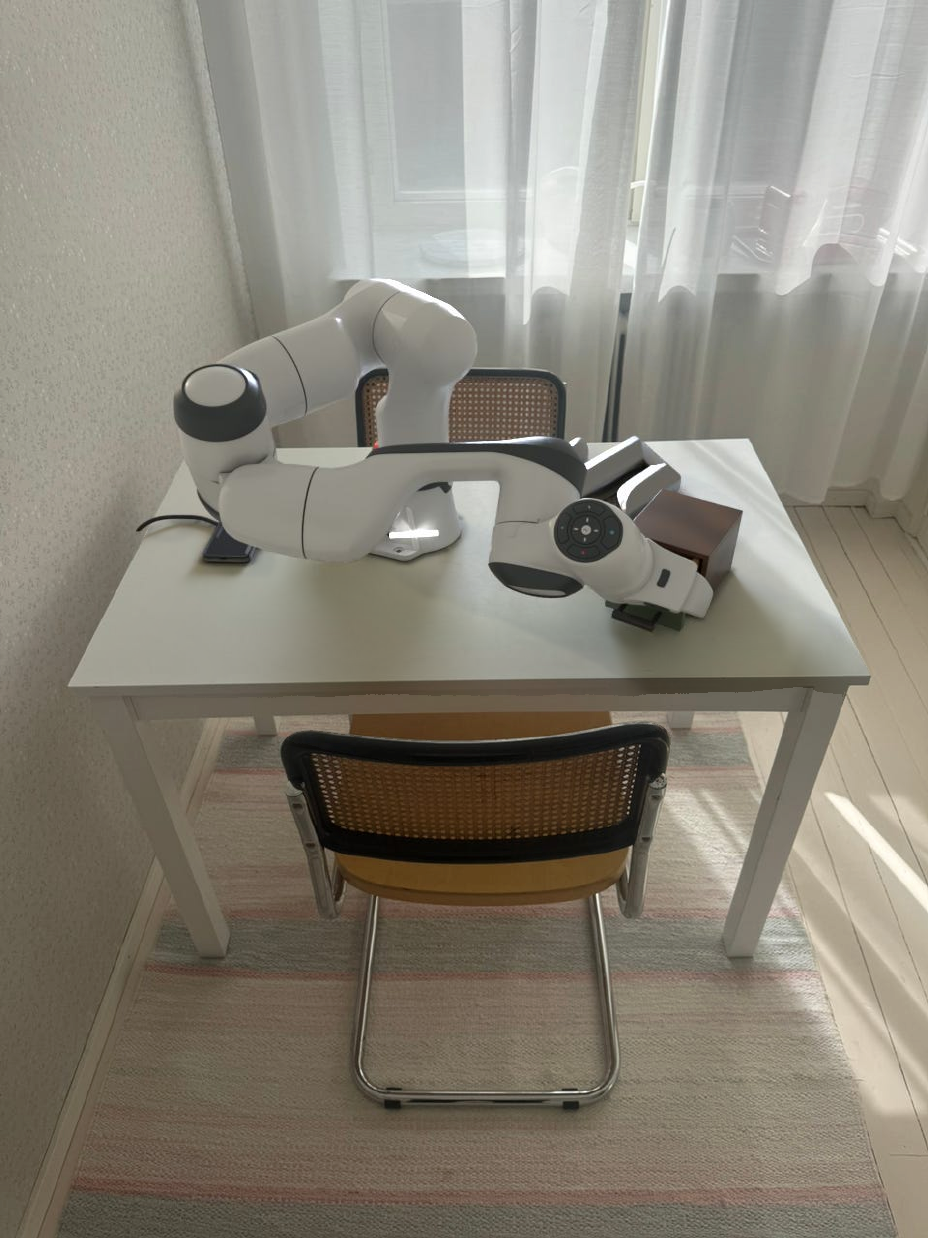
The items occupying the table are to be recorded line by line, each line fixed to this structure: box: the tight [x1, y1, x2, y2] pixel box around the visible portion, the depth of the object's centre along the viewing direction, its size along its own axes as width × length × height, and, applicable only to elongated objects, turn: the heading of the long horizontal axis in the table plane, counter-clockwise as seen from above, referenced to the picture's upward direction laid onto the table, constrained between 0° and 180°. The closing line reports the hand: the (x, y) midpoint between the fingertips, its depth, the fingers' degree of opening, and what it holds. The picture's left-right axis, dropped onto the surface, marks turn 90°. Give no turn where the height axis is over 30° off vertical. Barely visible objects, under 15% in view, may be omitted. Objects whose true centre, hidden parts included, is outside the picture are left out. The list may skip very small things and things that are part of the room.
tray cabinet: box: [633, 489, 744, 619], centre depth 124 cm, size 14×13×11 cm
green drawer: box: [604, 547, 703, 633], centre depth 119 cm, size 17×11×9 cm, turn 147°
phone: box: [201, 521, 258, 564], centre depth 139 cm, size 8×1×15 cm
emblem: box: [568, 435, 682, 521], centre depth 148 cm, size 28×5×28 cm
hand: (644, 590), depth 115 cm, fingers closed, pressing on green drawer
